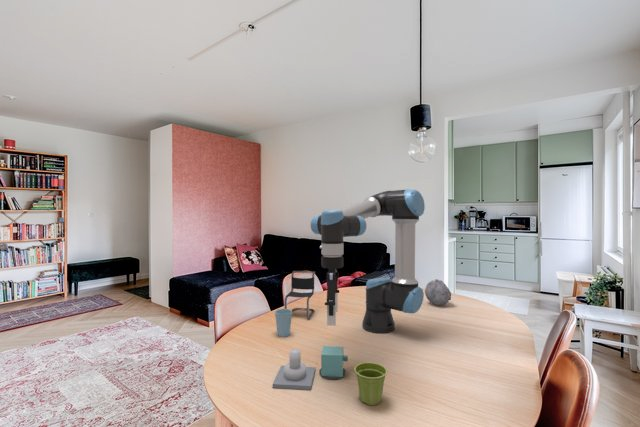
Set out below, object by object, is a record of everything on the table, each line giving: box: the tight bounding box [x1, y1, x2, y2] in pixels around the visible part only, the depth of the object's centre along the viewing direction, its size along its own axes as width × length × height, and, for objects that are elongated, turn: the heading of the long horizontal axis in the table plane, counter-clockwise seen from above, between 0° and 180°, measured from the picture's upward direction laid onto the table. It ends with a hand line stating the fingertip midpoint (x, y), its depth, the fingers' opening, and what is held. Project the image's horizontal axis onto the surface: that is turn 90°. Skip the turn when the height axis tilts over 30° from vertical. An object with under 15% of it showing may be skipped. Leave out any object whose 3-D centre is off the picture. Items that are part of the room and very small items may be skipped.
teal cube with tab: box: [320, 345, 349, 378], centre depth 107 cm, size 9×7×7 cm
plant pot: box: [353, 361, 388, 406], centre depth 92 cm, size 9×9×9 cm
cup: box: [274, 308, 293, 338], centre depth 142 cm, size 8×8×10 cm
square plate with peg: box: [272, 348, 316, 391], centre depth 104 cm, size 12×12×9 cm
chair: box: [284, 270, 316, 320], centre depth 170 cm, size 13×17×22 cm
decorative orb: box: [424, 278, 452, 306], centre depth 187 cm, size 15×14×15 cm
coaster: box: [318, 367, 347, 381], centre depth 107 cm, size 9×9×1 cm
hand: (332, 318), depth 108 cm, fingers open, 13 cm apart
